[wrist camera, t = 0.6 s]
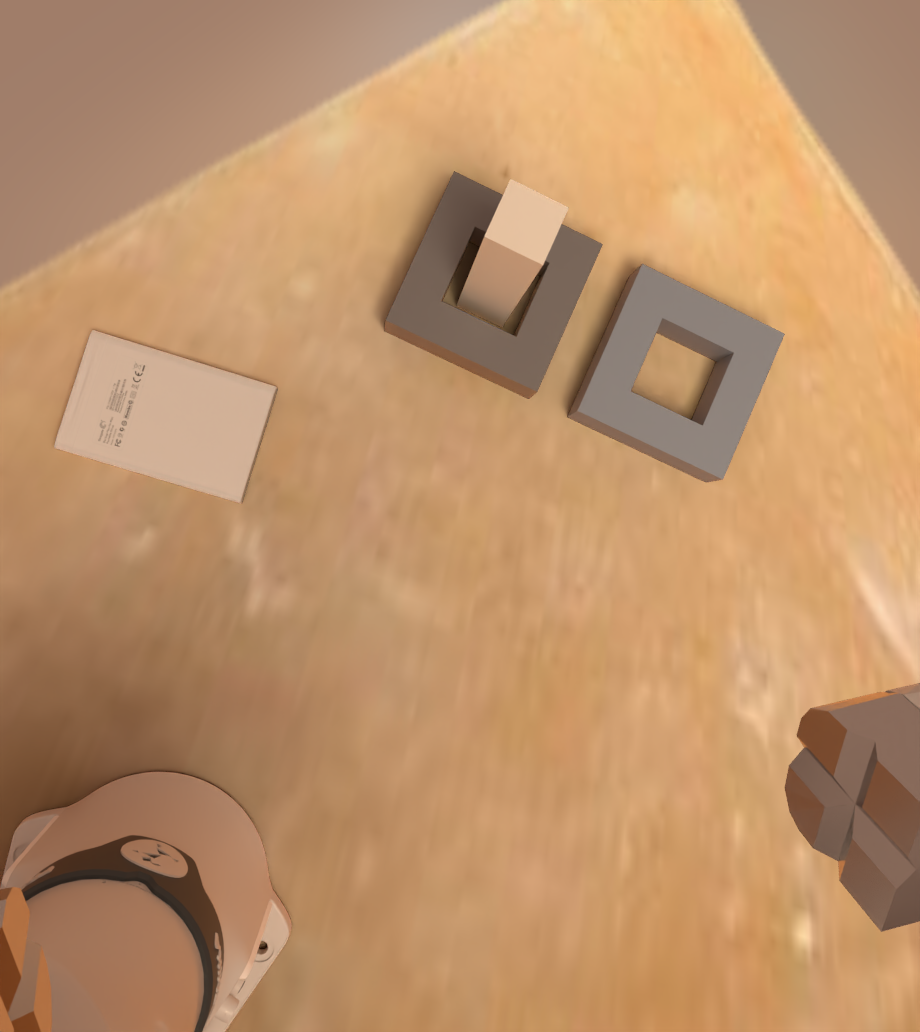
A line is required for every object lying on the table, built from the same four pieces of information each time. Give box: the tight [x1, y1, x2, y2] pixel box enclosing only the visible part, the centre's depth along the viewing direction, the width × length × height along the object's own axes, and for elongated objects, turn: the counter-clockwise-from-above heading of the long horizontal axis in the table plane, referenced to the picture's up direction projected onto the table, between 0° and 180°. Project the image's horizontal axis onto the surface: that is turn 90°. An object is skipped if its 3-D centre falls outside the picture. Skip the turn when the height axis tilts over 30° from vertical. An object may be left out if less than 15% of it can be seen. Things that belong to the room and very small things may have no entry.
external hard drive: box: [54, 330, 278, 504], centre depth 58 cm, size 2×8×12 cm
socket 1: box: [384, 171, 603, 399], centre depth 60 cm, size 11×11×3 cm
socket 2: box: [567, 264, 784, 482], centre depth 61 cm, size 11×11×3 cm
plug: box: [456, 179, 569, 328], centre depth 54 cm, size 4×4×14 cm
